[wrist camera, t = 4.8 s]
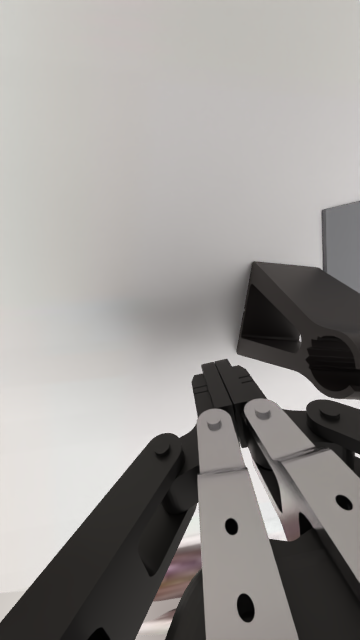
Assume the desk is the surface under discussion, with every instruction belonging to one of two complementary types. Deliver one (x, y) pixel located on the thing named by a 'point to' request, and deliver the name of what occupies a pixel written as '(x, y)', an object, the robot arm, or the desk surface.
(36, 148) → the desk surface
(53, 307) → the desk surface
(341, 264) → the mat
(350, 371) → the phone stand
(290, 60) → the desk surface
